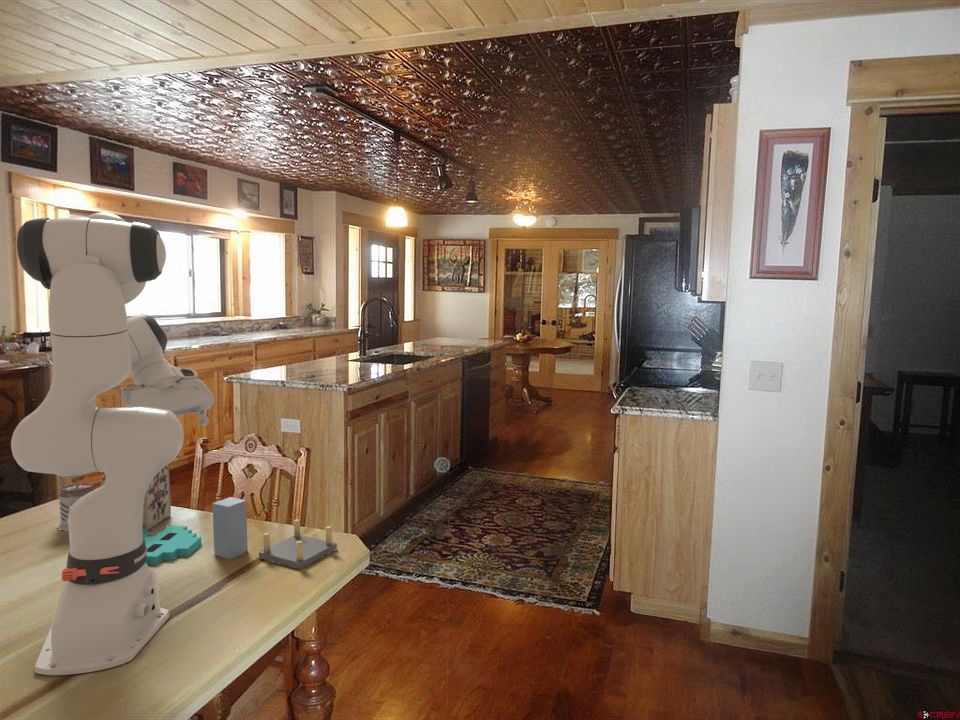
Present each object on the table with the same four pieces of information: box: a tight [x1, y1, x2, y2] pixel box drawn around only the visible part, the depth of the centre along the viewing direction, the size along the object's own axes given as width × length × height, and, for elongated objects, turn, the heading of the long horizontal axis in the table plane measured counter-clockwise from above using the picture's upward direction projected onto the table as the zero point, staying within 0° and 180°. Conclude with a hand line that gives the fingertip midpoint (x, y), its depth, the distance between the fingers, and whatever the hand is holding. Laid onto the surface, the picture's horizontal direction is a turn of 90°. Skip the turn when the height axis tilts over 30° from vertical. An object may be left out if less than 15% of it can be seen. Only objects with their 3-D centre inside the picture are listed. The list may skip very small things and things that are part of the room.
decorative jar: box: [100, 464, 172, 532], centre depth 159 cm, size 12×12×18 cm
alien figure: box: [142, 525, 203, 565], centre depth 144 cm, size 20×2×20 cm
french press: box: [56, 472, 95, 531], centre depth 159 cm, size 10×12×25 cm
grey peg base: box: [258, 518, 338, 570], centre depth 142 cm, size 12×12×6 cm
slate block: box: [211, 496, 249, 560], centre depth 142 cm, size 5×5×12 cm
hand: (188, 427), depth 145 cm, fingers open, 8 cm apart
